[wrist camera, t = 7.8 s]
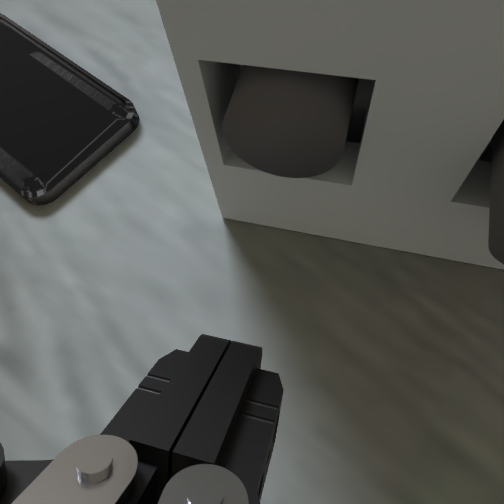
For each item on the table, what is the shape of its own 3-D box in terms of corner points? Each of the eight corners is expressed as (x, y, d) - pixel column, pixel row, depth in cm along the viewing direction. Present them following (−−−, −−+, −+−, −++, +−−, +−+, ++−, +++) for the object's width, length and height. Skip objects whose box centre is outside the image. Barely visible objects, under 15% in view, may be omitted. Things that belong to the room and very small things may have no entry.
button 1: (337, 185, 15) (351, 104, 12) (231, 168, 16) (213, 86, 12) (354, 101, 17) (372, 6, 13) (257, 89, 17) (247, -4, 14)
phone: (32, 205, 21) (-109, 77, 26) (44, 216, 22) (-94, 91, 27) (144, 107, 23) (-6, 6, 28) (150, 122, 24) (4, 21, 29)
